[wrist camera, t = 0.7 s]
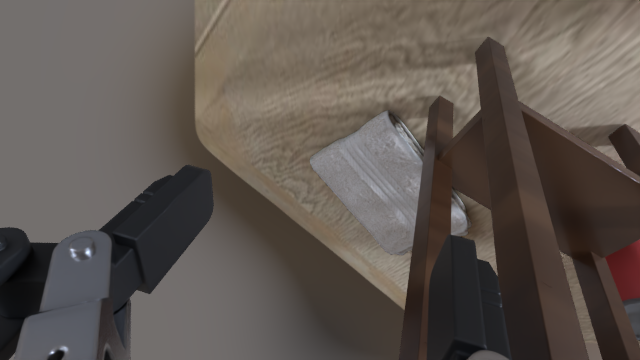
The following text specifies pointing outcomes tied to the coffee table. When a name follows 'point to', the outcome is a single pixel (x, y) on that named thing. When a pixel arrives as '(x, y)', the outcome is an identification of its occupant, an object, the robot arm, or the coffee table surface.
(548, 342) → the stand
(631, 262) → the beer can
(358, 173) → the washcloth
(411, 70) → the coffee table surface
